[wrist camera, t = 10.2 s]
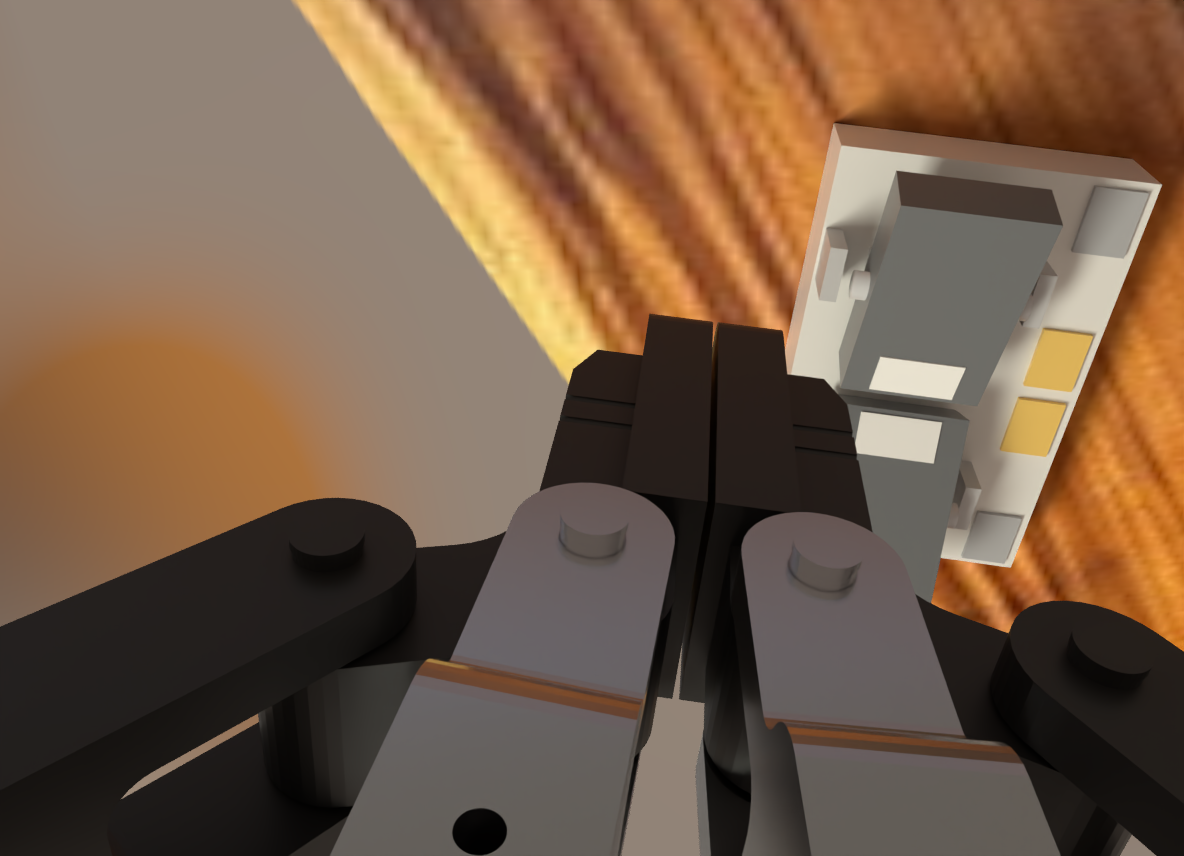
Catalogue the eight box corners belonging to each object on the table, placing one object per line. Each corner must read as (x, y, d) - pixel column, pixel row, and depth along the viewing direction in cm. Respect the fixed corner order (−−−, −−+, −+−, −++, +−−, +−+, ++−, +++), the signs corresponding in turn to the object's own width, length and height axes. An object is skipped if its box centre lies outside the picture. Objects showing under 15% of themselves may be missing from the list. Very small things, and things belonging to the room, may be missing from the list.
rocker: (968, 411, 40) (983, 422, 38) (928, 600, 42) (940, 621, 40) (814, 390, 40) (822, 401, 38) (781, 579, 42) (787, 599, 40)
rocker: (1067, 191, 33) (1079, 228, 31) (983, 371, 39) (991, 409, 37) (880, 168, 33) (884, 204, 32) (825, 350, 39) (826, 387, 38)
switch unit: (1132, 158, 38) (1184, 203, 33) (995, 525, 47) (1022, 598, 42) (833, 122, 38) (847, 162, 34) (754, 492, 47) (757, 560, 43)
